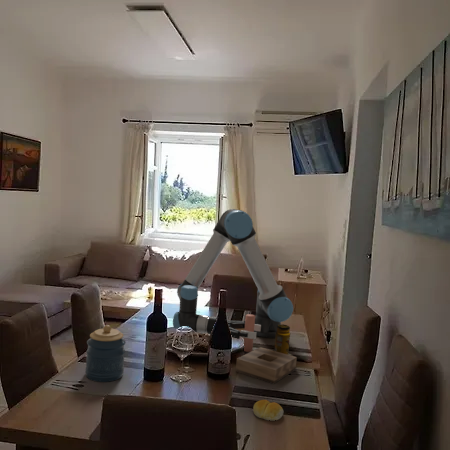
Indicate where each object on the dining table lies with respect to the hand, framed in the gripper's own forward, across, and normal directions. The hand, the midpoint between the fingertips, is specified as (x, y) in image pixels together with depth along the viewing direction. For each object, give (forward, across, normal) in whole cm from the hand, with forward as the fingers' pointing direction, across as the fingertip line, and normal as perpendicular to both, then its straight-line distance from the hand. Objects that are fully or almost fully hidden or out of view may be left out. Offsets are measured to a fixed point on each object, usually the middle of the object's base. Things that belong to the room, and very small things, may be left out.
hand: (258, 331), depth 199 cm
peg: (-4, 0, -8) cm, 9 cm away
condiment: (+9, -2, -9) cm, 13 cm away
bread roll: (+13, +55, -9) cm, 57 cm away
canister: (-46, +48, -9) cm, 67 cm away
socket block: (+7, +20, -8) cm, 23 cm away
